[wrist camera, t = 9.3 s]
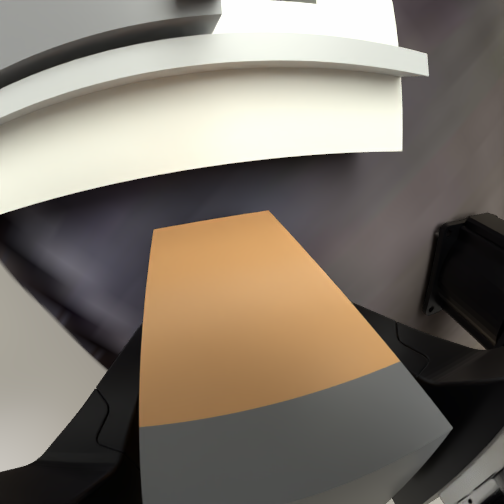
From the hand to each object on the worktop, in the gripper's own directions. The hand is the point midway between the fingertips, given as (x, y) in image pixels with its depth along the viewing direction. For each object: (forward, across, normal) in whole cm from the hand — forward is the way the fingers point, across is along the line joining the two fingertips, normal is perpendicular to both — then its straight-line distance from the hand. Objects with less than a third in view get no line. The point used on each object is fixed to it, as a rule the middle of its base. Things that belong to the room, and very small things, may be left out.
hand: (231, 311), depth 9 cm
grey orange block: (+3, 0, 0) cm, 3 cm away
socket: (+5, +3, -12) cm, 13 cm away
